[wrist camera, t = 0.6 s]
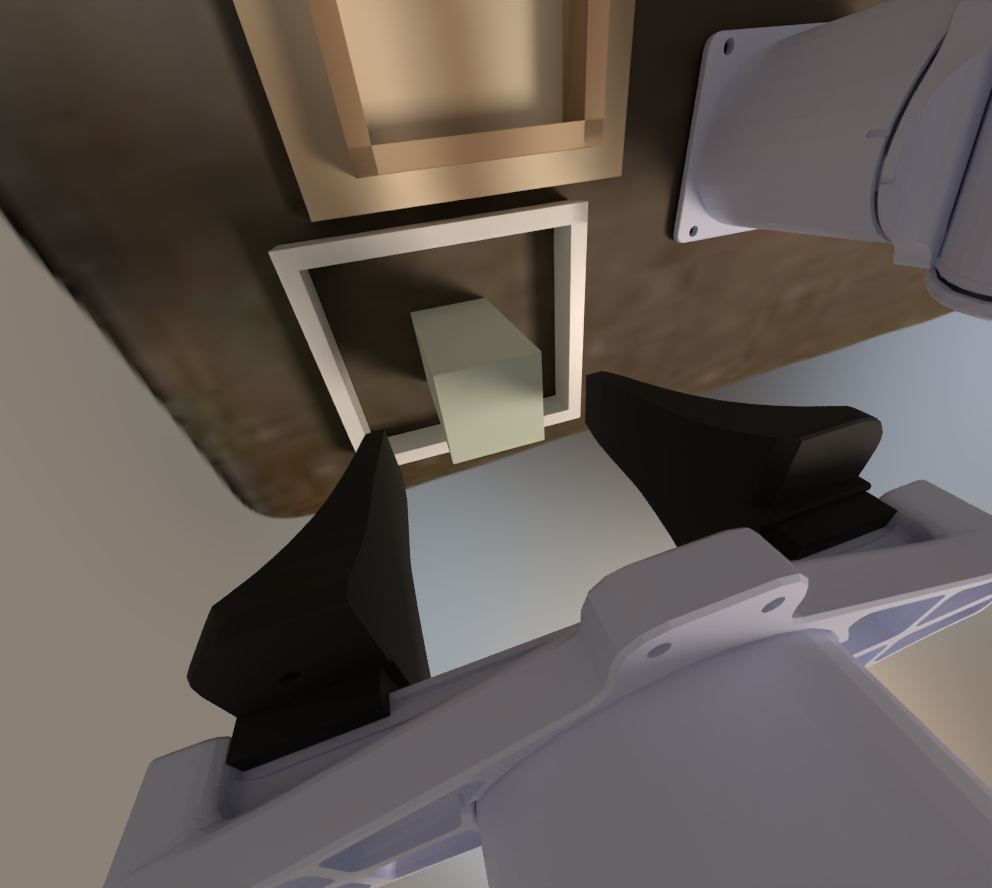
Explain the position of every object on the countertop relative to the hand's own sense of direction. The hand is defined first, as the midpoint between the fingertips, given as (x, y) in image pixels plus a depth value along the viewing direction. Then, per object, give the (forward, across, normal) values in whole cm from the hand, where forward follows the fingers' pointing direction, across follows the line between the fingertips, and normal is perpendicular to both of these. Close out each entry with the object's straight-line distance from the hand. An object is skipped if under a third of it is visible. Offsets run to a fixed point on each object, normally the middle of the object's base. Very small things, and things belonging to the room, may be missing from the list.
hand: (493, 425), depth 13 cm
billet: (+9, 0, 0) cm, 9 cm away
